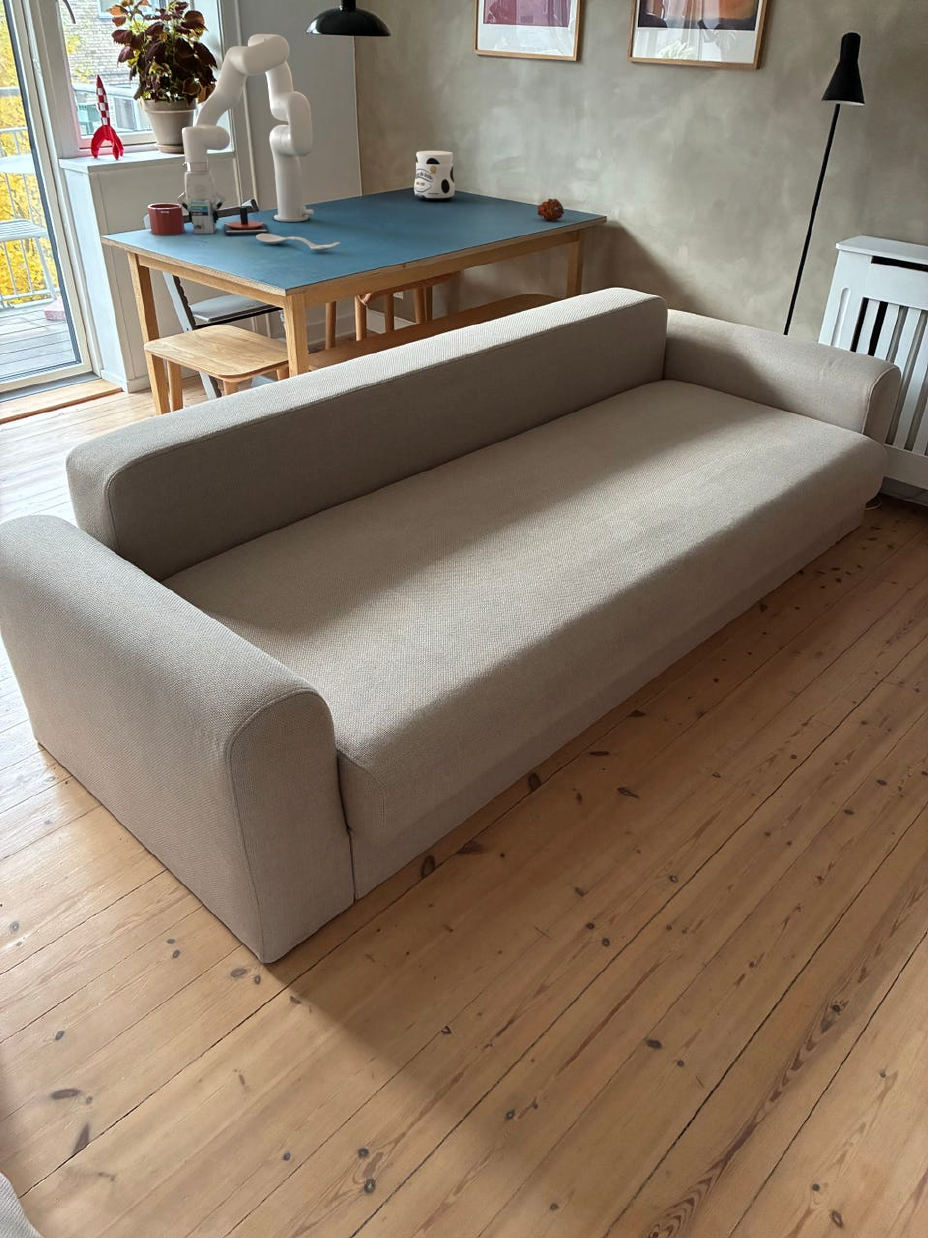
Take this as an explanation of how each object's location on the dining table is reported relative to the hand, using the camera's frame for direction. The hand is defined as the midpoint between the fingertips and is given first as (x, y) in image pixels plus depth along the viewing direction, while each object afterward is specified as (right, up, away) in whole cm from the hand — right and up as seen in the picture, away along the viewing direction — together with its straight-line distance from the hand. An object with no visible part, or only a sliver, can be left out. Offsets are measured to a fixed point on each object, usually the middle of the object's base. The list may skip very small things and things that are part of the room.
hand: (204, 222), depth 332 cm
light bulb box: (0, -3, +2) cm, 3 cm away
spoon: (+36, -17, -20) cm, 44 cm away
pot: (-12, -4, -1) cm, 13 cm away
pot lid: (+13, 0, +4) cm, 14 cm away
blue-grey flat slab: (+13, -1, +5) cm, 14 cm away
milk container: (+79, +39, +70) cm, 112 cm away
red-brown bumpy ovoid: (+124, +14, +32) cm, 129 cm away
